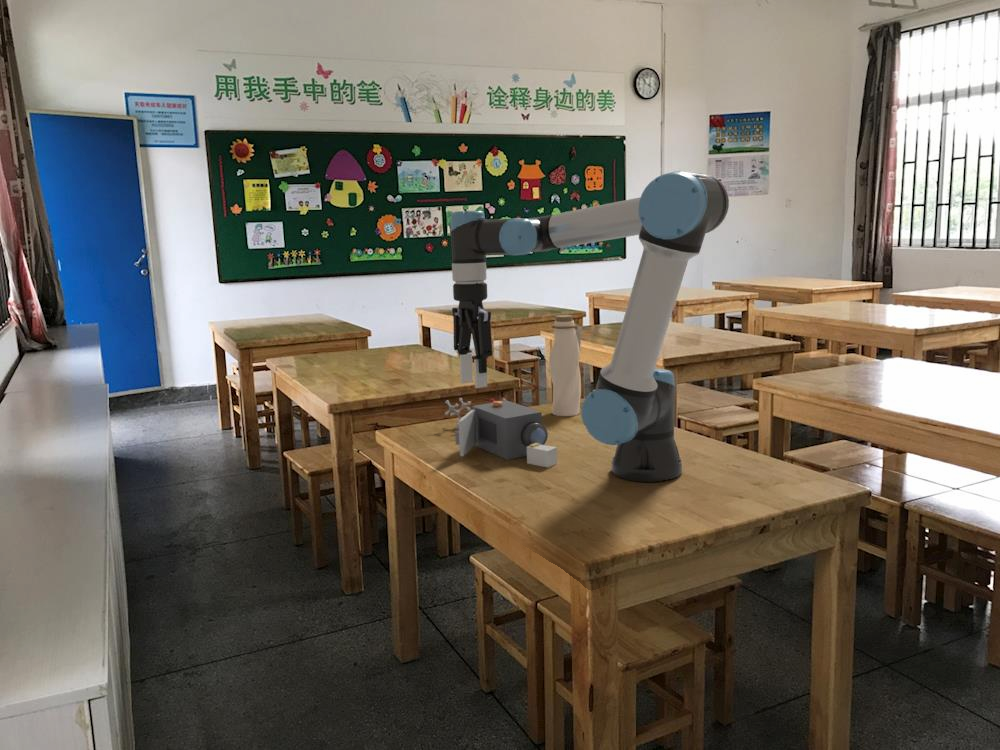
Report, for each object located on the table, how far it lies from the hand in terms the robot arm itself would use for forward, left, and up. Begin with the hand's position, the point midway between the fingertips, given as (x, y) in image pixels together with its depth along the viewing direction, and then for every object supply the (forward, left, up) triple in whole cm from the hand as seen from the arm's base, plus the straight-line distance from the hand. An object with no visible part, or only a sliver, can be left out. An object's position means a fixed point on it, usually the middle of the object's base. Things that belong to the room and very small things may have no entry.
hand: (473, 384), depth 184 cm
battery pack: (-8, -13, -19) cm, 24 cm away
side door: (+10, -3, -18) cm, 20 cm away
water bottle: (+28, -45, -19) cm, 57 cm away
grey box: (+6, -12, -19) cm, 23 cm away
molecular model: (+26, -14, -19) cm, 35 cm away
